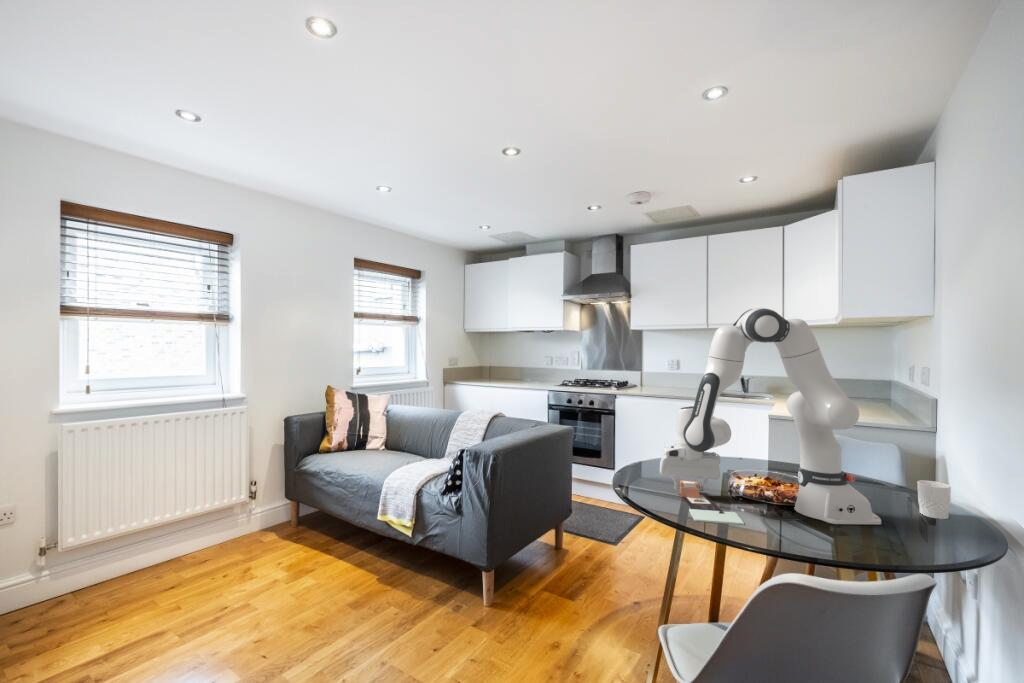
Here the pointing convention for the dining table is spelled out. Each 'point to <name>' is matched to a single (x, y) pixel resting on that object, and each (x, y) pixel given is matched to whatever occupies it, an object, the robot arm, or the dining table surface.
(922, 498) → the white cup
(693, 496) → the deck
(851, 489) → the robot arm
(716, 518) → the mat
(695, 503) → the chocolate bar
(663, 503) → the dining table surface
